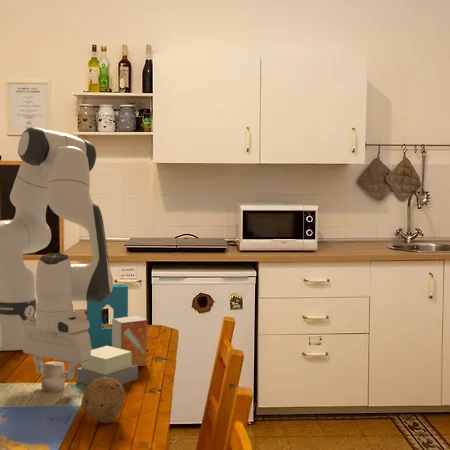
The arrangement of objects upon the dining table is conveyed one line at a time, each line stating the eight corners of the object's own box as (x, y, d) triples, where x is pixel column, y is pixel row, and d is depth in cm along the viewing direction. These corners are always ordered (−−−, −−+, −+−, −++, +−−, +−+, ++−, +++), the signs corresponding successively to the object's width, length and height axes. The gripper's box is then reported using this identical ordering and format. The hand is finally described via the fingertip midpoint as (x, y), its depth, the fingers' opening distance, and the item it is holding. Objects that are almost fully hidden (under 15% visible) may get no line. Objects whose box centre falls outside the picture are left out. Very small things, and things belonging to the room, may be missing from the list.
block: (86, 354, 188) (86, 287, 186) (87, 349, 193) (87, 284, 191) (127, 352, 190) (128, 286, 189) (127, 348, 195) (127, 283, 193)
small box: (120, 369, 174) (120, 322, 173) (111, 363, 179) (111, 318, 178) (147, 365, 178) (147, 319, 177) (137, 359, 183) (137, 315, 182)
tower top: (81, 368, 163) (81, 352, 162) (107, 360, 170) (107, 345, 170) (105, 375, 157) (105, 359, 157) (131, 366, 165) (131, 351, 164)
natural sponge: (77, 430, 132) (77, 383, 131) (86, 414, 141) (86, 370, 140) (121, 431, 132) (121, 384, 131) (127, 415, 141) (127, 370, 140)
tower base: (76, 383, 163) (76, 368, 162) (106, 372, 172) (106, 358, 172) (109, 392, 157) (109, 376, 157) (137, 380, 166) (137, 365, 166)
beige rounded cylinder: (36, 389, 156) (36, 365, 156) (53, 383, 161) (53, 360, 161) (53, 393, 154) (52, 369, 153) (69, 387, 158) (69, 363, 158)
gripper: (15, 317, 159) (15, 372, 160) (76, 327, 149) (77, 385, 150) (34, 313, 164) (34, 365, 165) (94, 322, 154) (95, 378, 155)
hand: (55, 375), depth 157 cm, fingers open, 8 cm apart
